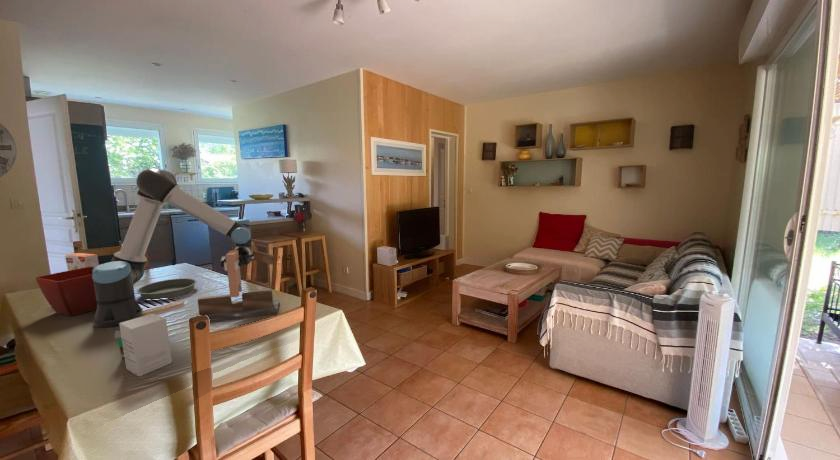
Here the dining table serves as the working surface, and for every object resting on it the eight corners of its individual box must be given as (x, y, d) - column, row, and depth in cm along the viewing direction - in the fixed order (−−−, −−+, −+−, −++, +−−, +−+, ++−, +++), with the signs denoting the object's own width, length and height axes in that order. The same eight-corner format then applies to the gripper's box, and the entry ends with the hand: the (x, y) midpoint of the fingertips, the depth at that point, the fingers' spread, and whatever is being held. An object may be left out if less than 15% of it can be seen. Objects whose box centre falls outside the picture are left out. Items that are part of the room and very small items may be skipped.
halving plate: (234, 290, 150) (230, 250, 148) (241, 290, 151) (238, 249, 149) (230, 297, 142) (225, 254, 139) (238, 296, 143) (234, 254, 140)
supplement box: (159, 355, 112) (153, 312, 110) (173, 363, 108) (167, 317, 106) (125, 369, 105) (118, 322, 103) (138, 377, 100) (131, 328, 98)
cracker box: (71, 295, 172) (64, 254, 169) (85, 291, 178) (79, 252, 175) (90, 298, 168) (83, 256, 165) (104, 294, 174) (98, 253, 171)
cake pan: (138, 292, 177) (137, 284, 176) (195, 283, 192) (194, 275, 191) (136, 306, 158) (135, 296, 157) (199, 295, 172) (199, 286, 172)
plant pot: (41, 314, 149) (34, 276, 146) (96, 300, 166) (90, 266, 163) (64, 321, 141) (57, 281, 139) (119, 305, 159) (114, 269, 156)
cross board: (199, 311, 150) (197, 293, 148) (279, 302, 159) (277, 285, 158) (189, 324, 136) (187, 304, 135) (276, 313, 146) (275, 295, 145)
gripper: (260, 261, 165) (253, 274, 143) (222, 264, 160) (209, 278, 138) (258, 245, 163) (251, 256, 141) (220, 248, 158) (207, 259, 136)
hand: (230, 267), depth 140 cm, fingers closed on halving plate, 3 cm apart
